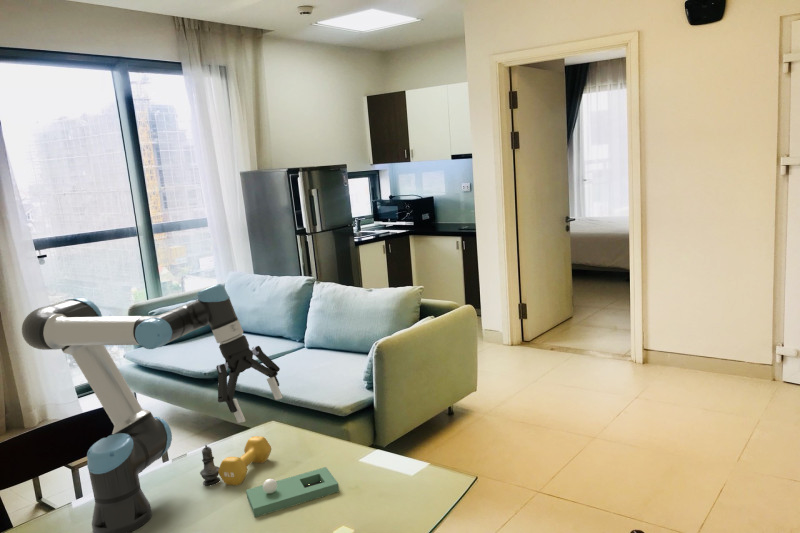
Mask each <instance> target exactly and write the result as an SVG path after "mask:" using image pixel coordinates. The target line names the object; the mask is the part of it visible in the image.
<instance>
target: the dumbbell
mask: <svg viewBox="0 0 800 533" xmlns="http://www.w3.org/2000/svg"><path fill="white" fill-rule="evenodd" d="M245 443H246V444H245V446H244V449H243V452H244V453H243V454H242V455H241V456H240V457H239V456H226V457H225V458H224V459H223V460H222V461H221V463H220V465H219V466H218V467H219V471H218V473H219V475H218V476H219V478H220V479H221V480H222V481H223V483H224V484H225V485H227V486H240V485H241V484H242V483H244V481H245V480H246V476H247V474H248V471H249V470H248V466H249V465H250V464H251V463H254V464H262V463H265V462H266V461H267V460H268V459H269V457H270V455H271V453H272V445H271V444H270V442H269V441H268V440H267V438H265V436H256V435H255V436H251V437H250V438H249V439H248V440H247V441H246V442H245Z"/></svg>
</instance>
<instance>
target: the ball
mask: <svg viewBox="0 0 800 533" xmlns="http://www.w3.org/2000/svg"><path fill="white" fill-rule="evenodd" d="M276 481H277V480H275V479H273V478H267V479H265V481H263V483H262V485H263V490H264V491H265V492H266V493H268V494H271V493H273V492H275V491H276V489H277V482H276Z"/></svg>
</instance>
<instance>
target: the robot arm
mask: <svg viewBox="0 0 800 533" xmlns="http://www.w3.org/2000/svg"><path fill="white" fill-rule="evenodd" d="M196 297H197V299H196V300H195V301H192V302H188V303H186V304H184V305H181V306H178V307H175V308H172V309H170V310H168V311H166V312H163V313H161V314H158V315H126V316H125V315H124V316H123V315H122V316H121V315H120V316H118V315H117V316H103V314H102V312H101V310H100V308H99V307H98V306H97V304H95V303H94V302H93V301H91V300H89V299H87V298H83V297H75V298H68V299H65V300H63V301H59V302H56V303H53V304H49V305H46V306H43V307H39V308H36V309H34V310H32V311H31V312H30V313H28V314H27V316H26V317H25V318H24V320H23V321H22V324H21V335H22V337H23V340H24V341H25V342H26V344H28V346H30V347H33V348H34V349H37V350H43V351H45V350H50V351H51V350H55V351H56V350H61V351H62V352H63V354H66V355H71V356H72V358H73V359H74V361H75V363H76V364H77V366H78V367H79V369H80V371H81V373H82V374H83V377H84V378H85V379H86V381H87V382H88V385H89V386H90V388H91V389H92V390H93V393H94V395H95V396H96V398H97V399H98V401H99V403H100V405H101V406H102V408H103V410H104V411H105V412H106V414H107V416H108V418H109V419H110V422H111V423H112V424H113V430H112V433H111V434H110V435H108V436H107V437H102V438H100V439H99V440H97V441H96V442H94V443H93V444H92V445H91V446H90V447H89V449H88V450H87V453H86V459H87V462H86V464H87V465H86V466H87V470H88V475H89V479H90V483H91V488H92V493H93V498H94V507H93V513H92V520H91V527H92V533H130V532H134V531H135V530H137V529H139V528H141V527H143V526H144V525H145V524H147V523H148V522H149V520H151V518H152V515H153V511H152V506H151V503H150V502H149V500H148V498H147V496H146V495H145V493H144V492H143V490H142V488H141V483H140V477H139V474H140V473H141V472H142V471H144V470H145V469H147V468H148V467H149V466H151V465H152V464H153V463H155V461H158V460H159V459H161V458H162V457H163V455H165V453H166V452H168V450H169V449H170V447H171V444H172V442H173V441H172V440H173V433H172V429H171V427H170V425H169V424H168V423H167V421H166V420H164V418H161V417H159V416H154V415H153V413H152V412H151V411H150V410H148V409H143V408H142V406H141V404H140V403H139V401H138V400H137V398H136V397H135V394H134V392H133V391H132V390H131V388H130V386H129V385H128V383H127V381H126V380H125V377H124V376H123V375H122V373H121V371H120V369H119V368H118V366H117V365H116V363H115V361H114V359H113V358H112V356H111V354H110V353H109V351H108V349H107V348H106V346H141V348H142V347H143V348H144V349H146V350H154V349H157V348H162V347H164V346H165V345H166V344H168V343H170V342H173V341H174V340H177V339H178V338H181V337H183V336H186V335H187V334H189V333H191V332H194V331H196V330H198V329H200V328H201V329H202V328H203V327H207V326H209V327H210V330H211V332H212V334H213V337H214V339H215V342H216V343H217V344H219V345H218V348H219V351H220V353H221V355H222V357H223V358H224V361H225V363H220V364H217V365H216V372H217V375H218V377H217V401H218V403H226V405H227V407H228V409H229V411H230V413H231V414H232V413H233V414H234V417H235V419H236V422H237V424H239V423H244V422H246V418H245V416H244V414H243V411H242V408H241V407H240V405H239V401H238V399H237V398H234V396H235V392H236V387H237V384H238V383H237V382H238V379H239V378H238V377H240V374H241V373H244V372H245V371H246V370H248V369H251V368H252V369H254V370H255V371H258V372H259V373H261V374H262V375H265V376H267V377H268V378H266V381H267V383H268V386H269V389H270V391H271V393H272V395H273V398H274V400H275V401H276V400H282V399H283V395H282V393H281V391H280V390H281V389H280V387H279V386H280V382H279V380H278V378H277V376H278V374H279V373H278V372H280V370H281V368H280V367H279V366H278V365H277V364H276V363H275V362H274V361H273V360H272V359H271V358H270V357H269V356H267V354H265V352H264V351H263V350H262V348H261V346H260V345H256V346H253V347H251V349H250V344H249V341H248V339H247V336H246V335H245V334H243V333H244V330H243V328H242V325H241V323H240V320H239V317H238V316H237V314H236V311H235V308H234V306H233V304H232V301H231V297H230V296H229V294H228V292H227V290H226V287H225V286H224V284H221V283H217V284H214V285H212V286H209V287H207V288H204V289H202V290H200V291H198V292H197V294H196ZM254 356H255V357H256V358H257V359H258V360H259V361H260V362H259V361H258V360H256V359H254V358H253V357H254ZM228 370H229V373H228Z"/></svg>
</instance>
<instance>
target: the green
mask: <svg viewBox="0 0 800 533" xmlns="http://www.w3.org/2000/svg"><path fill="white" fill-rule="evenodd" d="M275 481H276V482H277V489H276V491H275V492H273V493H271V494H268V493H266V492H265V491H264V490H263V484H261V485H258V486H254V487H251V488H248V489H246V490H245V493H246V499H247V501H248V504H249V507H250V509H251V512H252V514H253V516H254V518H257V517H260V516H263V515H267V514H271V513H273V512H276V511H280V510H283V509H286V508H290V507H294V506H296V504H297V505H299V503H300V504H304V503H306V502H305V501H307V502H310V501H312V499H313V500H316V499H315V498H317V499H320V498H323V497H327V496H329V494H330V495H332V493H333V494H335V492H336V493H339V492H340V486H339V482H338V481H337V480H336V478H335V477H334V475H333V474H332V472H330V470H329V469H328V467H327V466H324V467H322V468H321V467H320V468H317V469H314V470H310V471H308V472H304V473H300V474H296V475H293V476H290V477H287V478H283V479H279V480H275ZM320 481H321V482H320ZM308 484H310V485H308ZM338 491H339V492H338ZM322 496H323V497H322ZM319 497H320V498H319ZM309 500H310V501H309ZM293 505H294V506H293Z"/></svg>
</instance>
